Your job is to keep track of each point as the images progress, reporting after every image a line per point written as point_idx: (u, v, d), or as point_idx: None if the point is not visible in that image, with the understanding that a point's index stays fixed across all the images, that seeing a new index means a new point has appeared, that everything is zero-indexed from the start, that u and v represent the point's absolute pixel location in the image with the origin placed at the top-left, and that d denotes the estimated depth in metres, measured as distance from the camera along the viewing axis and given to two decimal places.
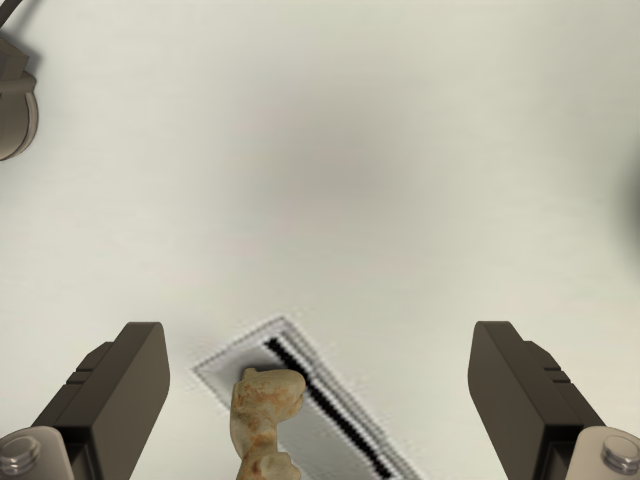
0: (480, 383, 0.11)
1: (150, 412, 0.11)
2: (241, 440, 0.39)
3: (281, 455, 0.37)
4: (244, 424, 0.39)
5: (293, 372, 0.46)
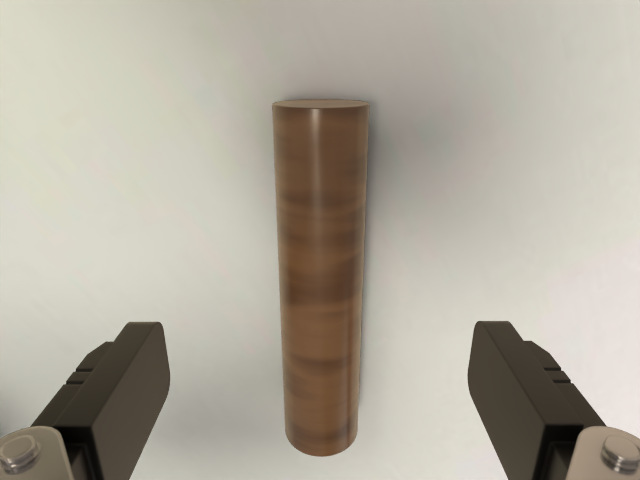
0: (480, 383, 0.11)
1: (150, 412, 0.11)
2: None
3: None
4: None
5: None
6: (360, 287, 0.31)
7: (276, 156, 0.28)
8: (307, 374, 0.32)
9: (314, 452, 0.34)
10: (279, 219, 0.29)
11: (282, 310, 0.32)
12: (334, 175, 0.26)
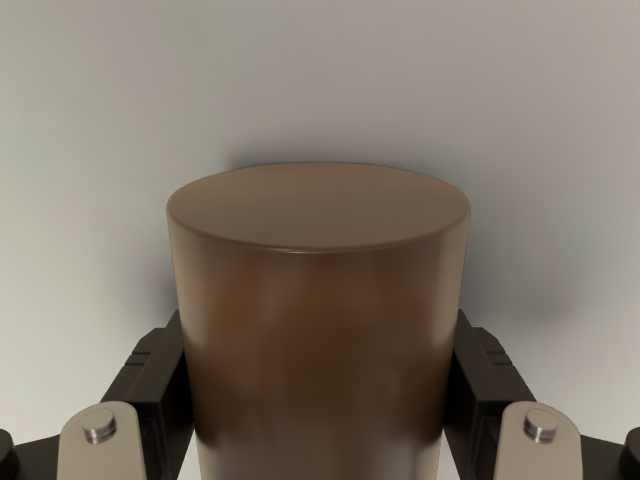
0: None
1: None
2: None
3: None
4: None
5: None
6: None
7: (185, 351, 0.09)
8: None
9: None
10: None
11: None
12: (362, 446, 0.08)
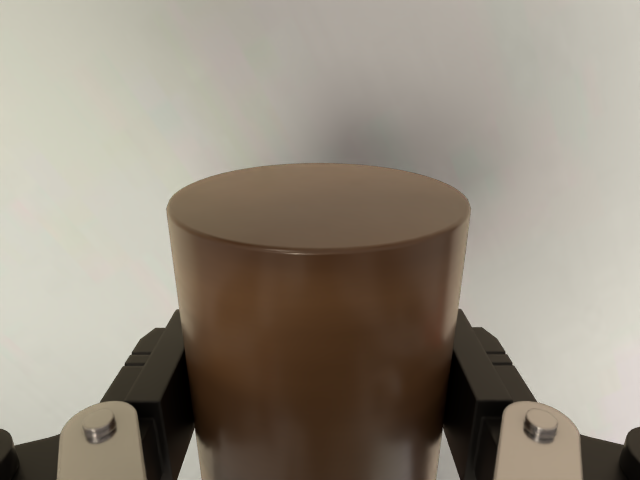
0: None
1: None
2: None
3: None
4: None
5: None
6: None
7: (185, 352, 0.09)
8: None
9: None
10: None
11: None
12: (362, 447, 0.08)
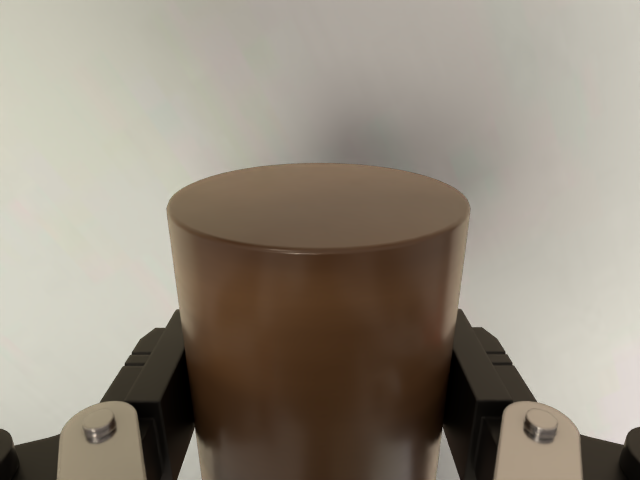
0: None
1: None
2: None
3: None
4: None
5: None
6: None
7: (185, 351, 0.09)
8: None
9: None
10: None
11: None
12: (362, 447, 0.08)
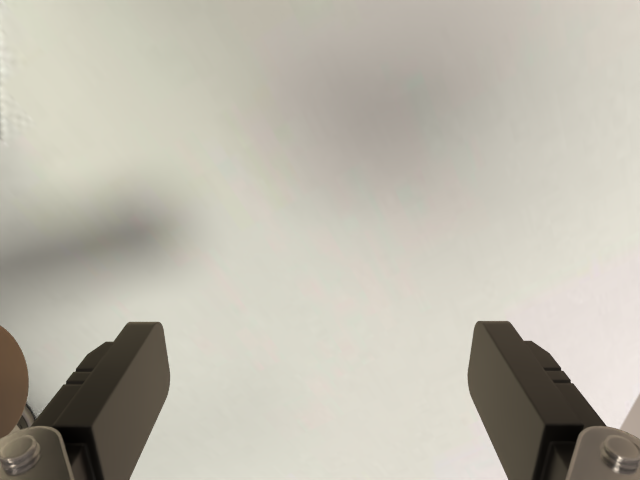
0: (480, 383, 0.11)
1: (150, 412, 0.11)
2: None
3: None
4: None
5: None
6: None
7: None
8: None
9: None
10: None
11: None
12: None
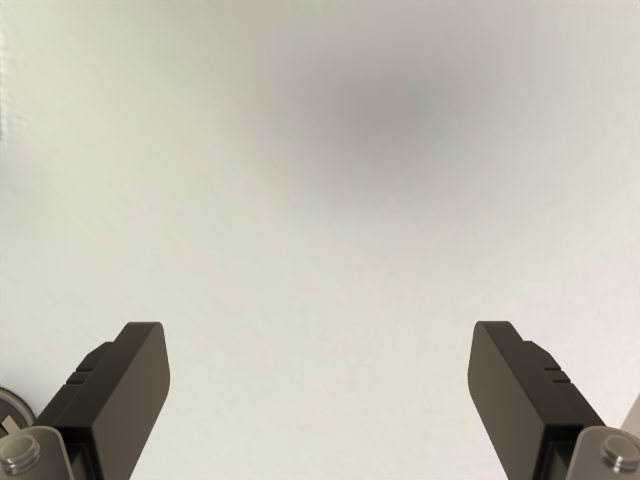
0: (480, 383, 0.11)
1: (150, 412, 0.11)
2: None
3: None
4: None
5: None
6: None
7: None
8: None
9: None
10: None
11: None
12: None
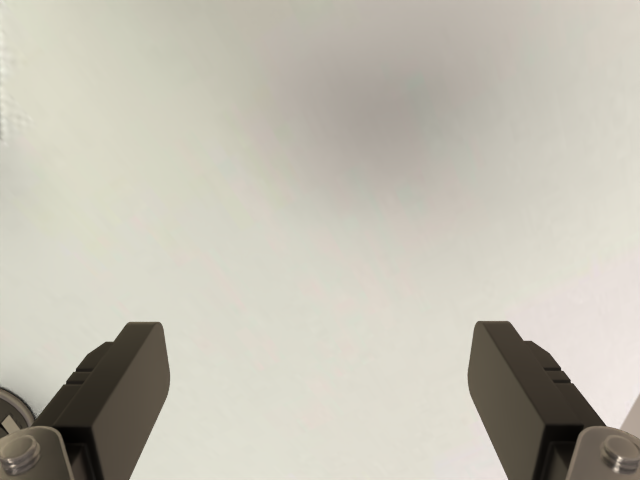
0: (480, 383, 0.11)
1: (150, 412, 0.11)
2: None
3: None
4: None
5: None
6: None
7: None
8: None
9: None
10: None
11: None
12: None
